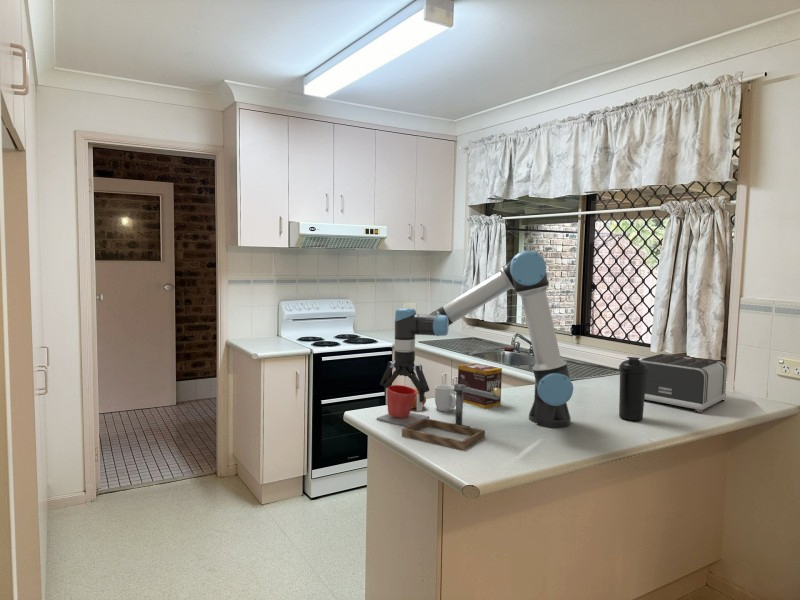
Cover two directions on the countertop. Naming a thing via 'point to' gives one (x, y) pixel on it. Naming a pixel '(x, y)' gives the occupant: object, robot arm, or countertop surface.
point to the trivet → (403, 419)
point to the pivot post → (459, 408)
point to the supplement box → (480, 383)
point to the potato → (416, 401)
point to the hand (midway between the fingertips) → (403, 407)
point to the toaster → (685, 381)
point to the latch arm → (478, 391)
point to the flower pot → (400, 400)
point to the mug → (445, 397)
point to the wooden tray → (413, 433)
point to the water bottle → (632, 388)
